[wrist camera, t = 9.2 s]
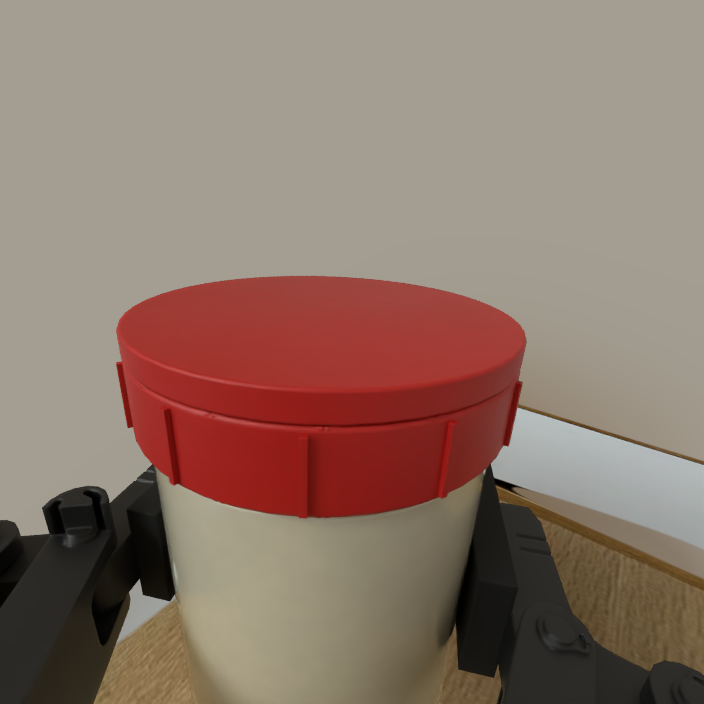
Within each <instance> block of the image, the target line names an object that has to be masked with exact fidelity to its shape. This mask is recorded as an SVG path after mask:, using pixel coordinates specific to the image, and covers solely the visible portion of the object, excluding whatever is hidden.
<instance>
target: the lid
mask: <svg viewBox="0 0 704 704" xmlns="http://www.w3.org/2000/svg"><path fill="white" fill-rule="evenodd" d="M116 332H117V337H118V344H119V349H120V354H121V359H122V362H117V363H116V365H117V371H118V377H119V382H120V387H121V393H122V399H123V404H124V410H125V416H126V421H127V427H128V428H130V427H133V428H134V433H135V437H136V441H137V442H138V444H139V446H140V448H141V450H142V451H143V453H144V455H145V456H146V457H147V458H148V459H149V460H150V462H151V463H152V464H153V465H154V466H155V467H156V468H157V469H158V470H159V471H160V472H162V473H163V474H164V475H166V476H167V477H169V481H170V483H171V484H172V485H176V484H179V485H181V486H183V487H185V488H187V489H189V490H191V491H193V492H195V493H197V494H199V495H201V496H203V497H206V498H209V499H212V500H214V501H216V502H220V503H222V504H227V505H230V506H233V507H238V508H243V509H248V510H253V511H257V512H262V513H267V514H277V515H287V516H297V517H299V518H304V519H307V518H308V517H315V518H322V517H324V518H331V517H349V516H359V515H369V514H378V513H383V512H388V511H393V510H398V509H403V508H408V507H412V506H415V505H418V504H423V503H424V502H429V501H430V500H433V499H436V498H439V497H440V498H441V499H443V498H445V497H447V495H448V493H449V492H451V491H454V490H456V489H458V488H460V487H462V486H464V485H465V484H466V483H468V482H469V481H471V480H472V479H474V478H475V477H477V476H478V475H479V474H481V473H482V472H483V471H484V470H485V469H486V468H487V467H488V466H489V465H490V464H491V463H492V462H493V461H494V459H495V458H496V457H497V455H498V453H499V452H500V450H501V448H502V447H503V445H505V446H509V443H510V439H511V434H512V429H513V425H514V420H515V416H516V411H517V407H518V402H519V397H520V393H521V388H522V384H523V382H520V381H518V380H519V375H520V368H521V365H522V361H523V356H524V352H525V347H526V337H525V333H524V330H523V329H522V327H521V326H520V325H519V324H518V323H517V322H516V321H515V320H514V319H513V318H512V317H510V316H509V315H507V314H505V313H504V312H502V311H500V310H498V309H496V308H494V307H492V306H490V305H487V304H485V303H482V302H480V301H477V300H474V299H471V298H468V297H465V296H462V295H458V294H454V293H451V292H447V291H442V290H438V289H434V288H428V287H423V286H418V285H412V284H405V283H398V282H390V281H383V280H373V279H362V278H347V277H326V276H281V277H260V278H247V279H235V280H227V281H219V282H212V283H205V284H200V285H195V286H189V287H185V288H182V289H177V290H173V291H170V292H167V293H163V294H160V295H157V296H155V297H152V298H150V299H147V300H145V301H143V302H141V303H139V304H137V305H135V306H134V307H132V308H131V309H130V310H128V311H127V312H125V314H124V315H123V316H122V317H121V319H120V320H119V323H118V326H117V330H116Z"/></svg>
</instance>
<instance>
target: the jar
mask: <svg viewBox="0 0 704 704" xmlns="http://www.w3.org/2000/svg"><path fill="white" fill-rule="evenodd" d="M155 471H156V477H157V484H158V490H159V496H160V502H161V509H162V515H163V521H164V527H165V534H166V540H167V546H168V553H169V559H170V565H171V571H172V578H173V584H174V590H175V596H176V603H177V609H178V615H179V622H180V628H181V634H182V640H183V647H184V653H185V659H186V665H187V672H188V678H189V684H190V690H191V697H192V703H193V704H439V703H440V698H441V693H442V688H443V683H444V678H445V673H446V668H447V663H448V658H449V653H450V648H451V643H452V638H453V633H454V628H455V623H456V618H457V613H458V608H459V603H460V598H461V593H462V588H463V583H464V578H465V573H466V567H467V562H468V557H469V552H470V547H471V542H472V537H473V532H474V527H475V522H476V517H477V512H478V507H479V502H480V497H481V492H482V487H483V482H484V477H485V472H486V469H485V470H484V471H483V472H482V473H481V474H479V475H478V476H477V477H475V478H474V479H472V480H471V481H469V482H468V483H466V484H465V485H464V486H462V487H460V488H458V489H456V490H454V491H451V492H449V493H448V495H447V497H445V498H443V499H441V498H440V497H439V498H436V499H433V500H430V501H429V502H424V503H423V504H418V505H415V506H412V507H408V508H403V509H398V510H393V511H388V512H383V513H378V514H369V515H359V516H349V517H331V518H324V517H322V518H315V517H308V518H307V519H304V518H299V517H297V516H287V515H277V514H267V513H262V512H257V511H253V510H248V509H243V508H238V507H233V506H230V505H227V504H222V503H220V502H216V501H214V500H212V499H209V498H206V497H203V496H201V495H199V494H197V493H195V492H193V491H191V490H189V489H187V488H185V487H183V486H181V485H179V484H176V485H172V484H171V483H170V481H169V477H167V476H166V475H164V474H163V473H162V472H160V471H159V470H158V469H157V468H156V467H155Z"/></svg>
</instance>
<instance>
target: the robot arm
mask: <svg viewBox="0 0 704 704" xmlns="http://www.w3.org/2000/svg"><path fill="white" fill-rule="evenodd" d="M42 509H43V512H44V516H45V520H46V523H47V526H48V530H49V533H50V534H45V535H44V534H43V535H33V536H32V535H31V536H20V533H19V530H18V528H17V526H16V524H15V523H14V522H11V521H8V520H0V704H93V703H94V701H95V698H96V695H97V693H98V690H99V687H100V685H101V682H102V679H103V677H104V674H105V671H106V669H107V666H108V663H109V661H110V658H111V655H112V653H113V650H114V647H115V645H116V642H117V639H118V637H119V634H120V631H121V628H122V626H123V623H124V621H125V618H126V615H127V612H128V610H129V606H130V595H129V591H130V590H131V589H132V588H133V586H134V585H135V584H136V582H137V581H138V580H139V579H140V582H141V587H142V592H143V595H145V596H150V597H154V598H158V599H163V600H167V601H171V599H172V598H173V596H174V595H175V590H174V584H173V578H172V571H171V565H170V559H169V553H168V546H167V540H166V534H165V527H164V521H163V515H162V509H161V502H160V496H159V490H158V484H157V477H156V471H155V466H154V465H153V464H152V465H151V466H150V467H149V468H148V469H147V471H146V472H144V473H143V474H141V475H140V476H139V477H138V478H137V480H136V481H134V482H133V483H132V484H130V485H129V486H128V487H127V488H126V489H125V490H124V491H123V492H122V493H121V494H120V495H118V496H117V497H116V498H115V499H114V500H113V501H112V502H111V503H109V498H108V495H107V493H106V491H105V490H104V489H102V488H100V487H95V486H85V487H80V488H75V489H72V490H69V491H66V492H64V493H61V494H60V495H58V496H56V497H55V498H53V499H51V500H50V501H49V502H48V503H47V504H46V505H45V506H44V507H42ZM456 634H457V652H458V669H459V670H463V671H467V672H471V673H476V674H480V675H484V676H488V677H493V678H494V676H495V673H496V669H497V665H498V664H499V671H500V678H501V685H502V686H501V690H500V693H499V697H498V700H497V704H704V675H702V674H701V673H700V672H698V671H696V670H694V669H692V668H690V667H687V666H685V665H683V664H681V663H676V662H670V661H662V662H660V663H657V664H654V665H653V667H652V669H651V671H647V670H645V669H643V668H641V667H639V666H637V665H635V664H633V663H631V662H629V661H627V660H625V659H623V658H621V657H619V656H617V655H615V654H614V653H612V652H610V651H608V650H607V649H605V648H603V647H602V646H601V645H599V644H598V643H597V642H596V641H594V639H593V638H592V636H591V634H590V633H589V631H588V629H587V628H586V626H585V625H584V624H583V623H582V622H581V621H580V620H579V619H578V618H577V617H576V616H575V615H573V614H572V611H571V609H570V607H569V604H568V601H567V598H566V595H565V592H564V589H563V586H562V583H561V580H560V577H559V575H558V572H557V569H556V566H555V563H554V560H553V557H552V556H551V551H550V548H549V545H548V542H546V536H545V534H544V531H543V528H542V525H541V522H540V521H539V520H538V519H537V517H536V516H535V515H534V514H533V513H532V511H531V510H530V509H529V508H528V507H523V506H517V505H511V504H505V503H499V499H498V494H497V490H496V485H495V481H494V476H493V472H492V467H491V464H490V465H489V466H488V467H487V468H486V472H485V477H484V482H483V487H482V492H481V497H480V502H479V507H478V512H477V517H476V522H475V527H474V532H473V537H472V542H471V547H470V552H469V557H468V562H467V567H466V573H465V578H464V583H463V588H462V593H461V598H460V603H459V608H458V613H457V618H456Z"/></svg>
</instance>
